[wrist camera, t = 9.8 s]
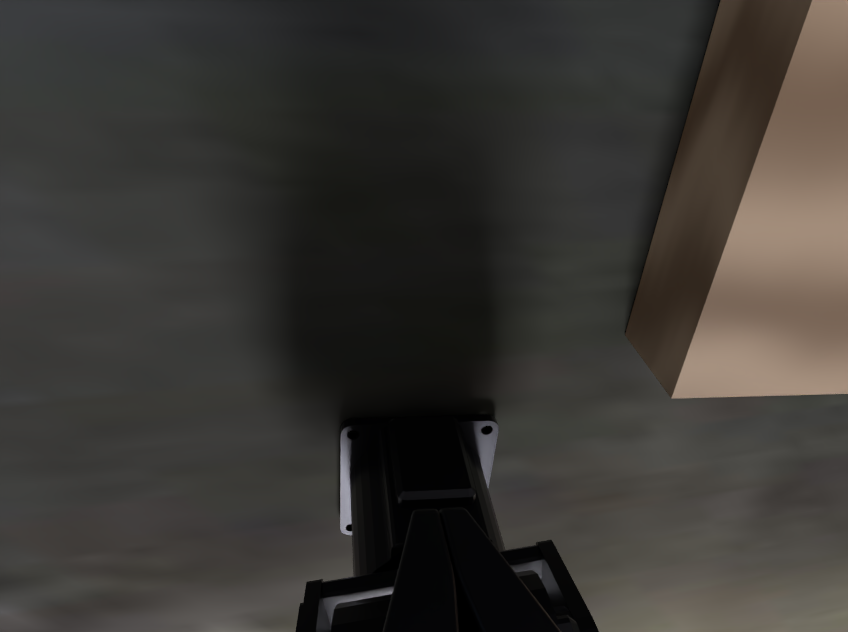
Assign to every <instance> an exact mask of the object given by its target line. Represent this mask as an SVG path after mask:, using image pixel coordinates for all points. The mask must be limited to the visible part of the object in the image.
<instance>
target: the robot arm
mask: <svg viewBox="0 0 848 632" xmlns="http://www.w3.org/2000/svg"><path fill="white" fill-rule="evenodd" d="M487 425H488V426H489V427H487V428H483V427H484V426H487ZM350 430H357V432H354V433H351V432H349V431H350ZM498 430H499V428H498V424H497V421H496V419H495V417H493V416H491V415H454V416H421V417H388V418H355V419H348V420H346V421H344V422H343V424H342V425H341V428H340V529H341V532H343V533H344V534H346V535H352V547H353V572H354V577H349V578H343V579H337V580H331V581H325V582H323V579H321V580H315V581H309V582H307V583H306V589H305V596H304V603H300V607H299V614H298V620H297V627H296V632H599V631H598V629H597V626H596V624H595V622H594V620H593V618H592V616H591V614H590V612H589V610H588V608H587V606H586V604H585V602H584V600H583V599H582V597H581V595H580V593H579V591H578V589H577V587H576V585H575V583H574V581H573V580H572V578H571V576H570V574H569V572H568V570H567V568H566V566H565V564H564V563H563V561H562V559H561V557H560V555H559V553H558V551H557V549H556V547H555V545H554V544H553V542H552V540H547V541H541V542H536V545H534V546H528V547H522V548H517V549H511V550H505V547H504V544H503V540H502V537H501V533H500V530H499V526H498V523H497V519H496V516H495V512H494V509H493V505H492V502H491V498H490V495H489V491H488V487H489V481H490V476H491V470H492V464H493V459H494V453H495V447H496V442H497V436H498Z"/></svg>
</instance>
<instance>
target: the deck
mask: <svg viewBox="0 0 848 632" xmlns="http://www.w3.org/2000/svg"><path fill="white" fill-rule="evenodd" d="M625 336H626V337H627V338H628V340H629V341H630V342H631V344H632V345H633V347H634V348H635V349H636V351H637V352H638V353H639V355H640V356H641V358H642V359H643V360H644V362H645V363H646V364H647V366H648V367H649V368H650V370H651V371H652V373H653V374H654V375H655V377H656V378H657V379H658V381H659V382H660V384H661V385H662V386H663V388H664V389H665V390H666V392H667V393H668V395H669V396H670V397H671V398H706V397H742V396H778V395H814V394H848V0H720V4H719V7H718V11H717V14H716V18H715V21H714V25H713V28H712V32H711V35H710V39H709V42H708V46H707V49H706V53H705V56H704V60H703V63H702V67H701V70H700V74H699V78H698V81H697V85H696V88H695V92H694V95H693V99H692V102H691V106H690V109H689V113H688V116H687V120H686V123H685V127H684V130H683V134H682V137H681V141H680V144H679V148H678V151H677V155H676V158H675V162H674V165H673V169H672V172H671V176H670V179H669V183H668V186H667V190H666V193H665V197H664V200H663V204H662V207H661V211H660V214H659V218H658V221H657V225H656V228H655V232H654V235H653V239H652V242H651V246H650V249H649V253H648V256H647V260H646V263H645V267H644V270H643V274H642V277H641V281H640V284H639V288H638V291H637V295H636V298H635V302H634V305H633V309H632V312H631V316H630V319H629V323H628V326H627V330H626V333H625Z"/></svg>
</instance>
